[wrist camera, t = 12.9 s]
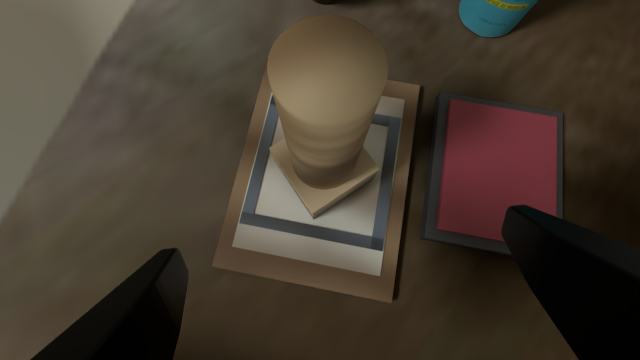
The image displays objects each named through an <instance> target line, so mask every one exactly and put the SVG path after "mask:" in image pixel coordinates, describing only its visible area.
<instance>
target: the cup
mask: <svg viewBox="0 0 640 360" xmlns="http://www.w3.org/2000/svg"><path fill="white" fill-rule="evenodd" d="M313 1H315V2H318V3H331V2H333V1H335V0H313Z"/></svg>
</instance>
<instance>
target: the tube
mask: <svg viewBox="0 0 640 360" xmlns="http://www.w3.org/2000/svg"><path fill="white" fill-rule="evenodd" d="M537 1H538V0H461V2H460V5H459V15H460V18H461V21H462V22H463V24H464V25H465V26H466V27H467V28H468V29H470V30H471V31H472V32H474V33H475V34H477V35H479V36H483V37H491V38H492V37H500V36H503V35H505V34H507V33H508V32H510V31H511V30H512V29H513V28H514V27H515V26H516V25H517V24H518V23H519V21H520V20H521V19H522V18H523V17H524V16H525V15H526V14H527V12H528V11H529V10H530V9H531V8H532V7H533V6H534V5H535V3H536V2H537Z"/></svg>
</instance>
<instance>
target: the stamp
mask: <svg viewBox="0 0 640 360" xmlns="http://www.w3.org/2000/svg"><path fill="white" fill-rule="evenodd" d="M267 72H268V78H269V82H270V86H271V89H272V93H273V97H274V100H275V104H276V107H277V111H278V115H279V118H280V122H281V125H282V129H283V133H284V136H285V138H284V139H283V140H281V141H280V142H278V143H276V144H275V145H273V146H271V147H270V148H269V150H270V152H271V154H272V156H273V159H274V161H275V163H276V164H277V166H278V167H279V169H280V170H281V172H282V173H283V175H284V176H285V178H286V179H287V181H288V182H289V184H290V185H291V187H292V188H293V190H294V191H295V193H296V194H297V196H298V197H299V199H300V200H301V202H302V203H303V205H304V206H305V208H306V209H307V211H308V212H309V214H310V215H311V217H312V218H313V220H314V219H315V218H317V217H318V216H320V215H321V214H323V213H324V212H326V211H327V210H329V209H330V208H332V207H333V206H335V205H336V204H338V203H339V202H341V201H342V200H344V199H345V198H347V197H348V196H350V195H351V194H353V193H354V192H356V191H357V190H359V189H360V188H362V187H363V186H365V185H366V184H368V183H369V182H371V181H372V180H373V179H374V177H375V176H376V174H377V173H378V171H379V169H380V168H379V167H378V166H377V164H376V163H375V162H374V160H373V159H372V158H371V156H370V155H369V154H368V152H367V151H366V150H365V148H364V147H363V144H364V141H365V138H366V136H367V133H368V130H369V128H370V125H371V122H372V119H373V117H374V114H375V111H376V109H377V106H378V103H379V100H380V98H381V95H382V92H383V90H384V87H385V84H386V81H387V77H388V60H387V56H386V53H385V50H384V48H383V46H382V44H381V42H380V41H379V40H378V38H377V37H376V36H375V35H374V34H373V33H372V32H371V31H370V30H369V29H368V28H367V27H365V26H364V25H362V24H360V23H359V22H357V21H354V20H352V19H349V18H346V17H342V16H337V15H318V16H313V17H308V18H305V19H303V20H300V21H298V22H296V23H294V24H293V25H291V26H290V27H288V28H287V29H286V30H285V31H283V32H282V34H281V35H280V36H279V37H278V38H277V40H276V41H275V42H274V44H273V46H272V48H271V50H270V53H269V57H268V62H267Z"/></svg>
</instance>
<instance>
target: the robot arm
mask: <svg viewBox="0 0 640 360" xmlns="http://www.w3.org/2000/svg"><path fill="white" fill-rule="evenodd" d="M501 234H502V237H503V239H504V241H505V243H506V245H507V247H508V249H509V251H510V252H511V254H512V256H513V258H514V260H515V262H516V263H517V265H518V267H519V269H520V271H521V273H522V275H523V276H524V278H525V280H526V282H527V283H528V285H529V287H530V288H531V290H532V291H533V293H534V294H535V296H536V297H537V299H538V300H539V302H540V303H541V305H542V306H543V308H544V309H545V311H546V312H547V314H548V315H549V317H550V318H551V319H552V321H553V322H554V324H555V325H556V327H557V328H558V330H559V331H560V333H561V334H562V336H563V337H564V339H565V340H566V341H567V343H568V344H569V346H570V347H571V349H572V350H573V352H574V353H575V355H576V356H577V358H578V359H579V360H640V249H637V248H635V247H632V246H630V245H627V244H625V243H622V242H620V241H617V240H614V239H612V238H609V237H607V236H604V235H602V234H599V233H597V232H594V231H591V230H589V229H586V228H584V227H581V226H579V225H576V224H574V223H571V222H568V221H566V220H563V219H561V218H558V217H556V216H553V215H551V214H548V213H545V212H543V211H540V210H538V209H535V208H533V207H530V206H528V205H514V206H510V207H508V208H507V210H506V213H505V217H504V221H503V224H502V228H501ZM187 284H188V269H187V267H186V264H185V262H184V259H183V257H182V255H181V252H180V250H179V249H177V248H170V249H163V250H160V251H159V252H158V253H157V254H155V255H154V256H153V257H152V258H151V259H150V260H148V261H147V262H146V263H145V264H144V265H142V266H141V267H140V268H139V269H138V270H136V271H135V272H134V273H133V274H132V275H130V276H129V277H128V278H127V279H126V280H124V281H123V282H122V283H121V284H120V285H119V286H117V287H116V288H115V289H114V290H113V291H111V292H110V293H109V294H108V295H107V296H105V297H104V298H103V299H102V300H101V301H99V302H98V303H97V304H96V305H95V306H94V307H92V308H91V309H90V310H89V311H88V312H86V313H85V314H84V315H83V316H82V317H80V318H79V319H78V320H77V321H76V322H74V323H73V324H72V325H71V326H70V327H69V328H67V329H66V330H65V331H64V332H63V333H61V334H60V335H59V336H58V337H57V338H55V339H54V340H53V341H52V342H51V343H49V344H48V345H47V346H46V347H45V348H43V349H42V350H41V351H40V352H39V353H38V354H36V355H35V356H34V357H33V358H32V359H30V360H173V356H174V352H175V349H176V345H177V341H178V337H179V333H180V328H181V322H182V316H183V310H184V303H185V297H186V290H187Z"/></svg>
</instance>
